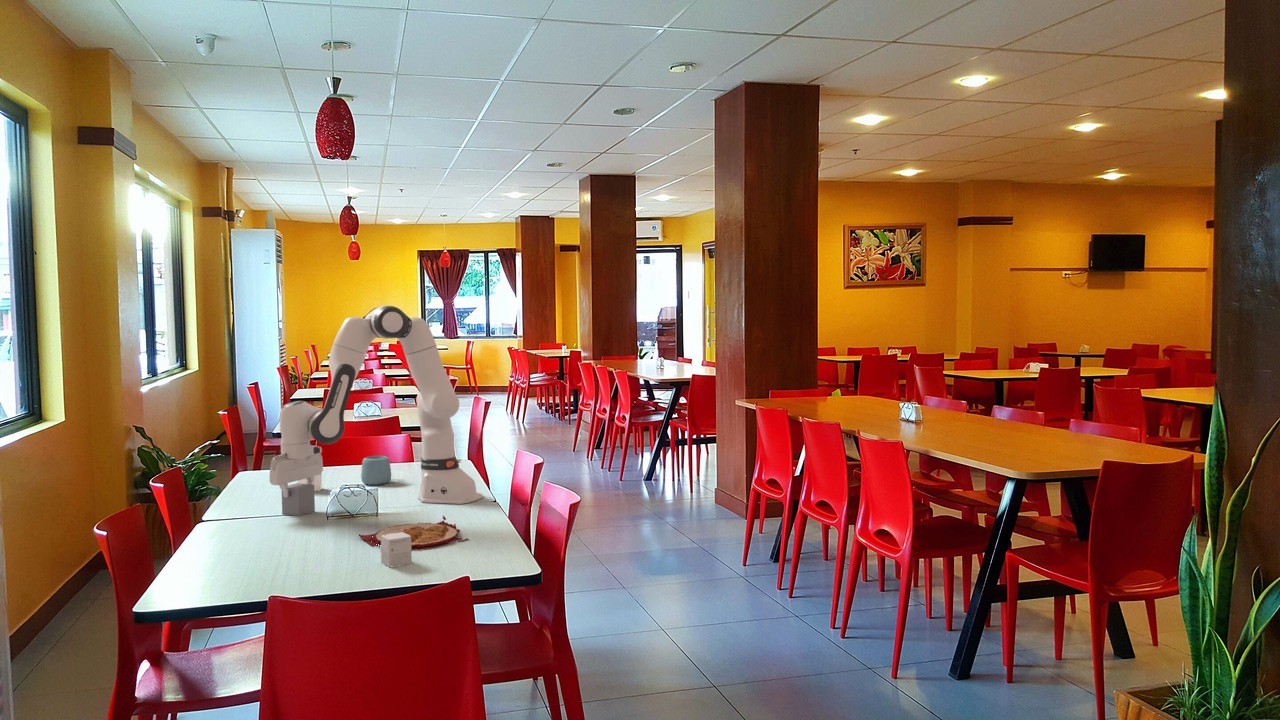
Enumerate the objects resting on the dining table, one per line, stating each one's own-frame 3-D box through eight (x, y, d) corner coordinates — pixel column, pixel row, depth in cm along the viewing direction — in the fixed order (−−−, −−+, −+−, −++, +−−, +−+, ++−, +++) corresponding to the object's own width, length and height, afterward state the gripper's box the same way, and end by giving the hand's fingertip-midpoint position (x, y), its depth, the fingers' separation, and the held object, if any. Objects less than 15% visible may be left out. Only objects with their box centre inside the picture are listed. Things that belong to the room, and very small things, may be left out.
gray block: (314, 511, 289) (314, 484, 289) (299, 515, 283) (298, 488, 282) (298, 509, 292) (297, 483, 291) (282, 514, 285) (281, 487, 285)
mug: (372, 478, 346) (371, 453, 345) (399, 478, 345) (399, 453, 344) (356, 486, 331) (355, 459, 330) (384, 486, 330) (384, 459, 329)
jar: (302, 493, 318) (301, 460, 317) (293, 490, 323) (292, 457, 323) (326, 490, 324) (325, 457, 323) (317, 486, 330) (316, 454, 329)
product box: (389, 568, 225) (388, 539, 224) (380, 562, 230) (380, 534, 229) (412, 564, 228) (411, 536, 228) (403, 558, 233) (402, 531, 233)
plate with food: (357, 541, 255) (357, 529, 255) (444, 525, 271) (443, 513, 270) (388, 561, 235) (388, 548, 235) (479, 543, 251) (479, 530, 250)
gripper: (279, 457, 276) (281, 501, 277) (325, 446, 295) (327, 488, 296) (263, 456, 278) (265, 499, 279) (310, 446, 297) (312, 486, 298)
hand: (297, 493), depth 287 cm, fingers open, 8 cm apart
